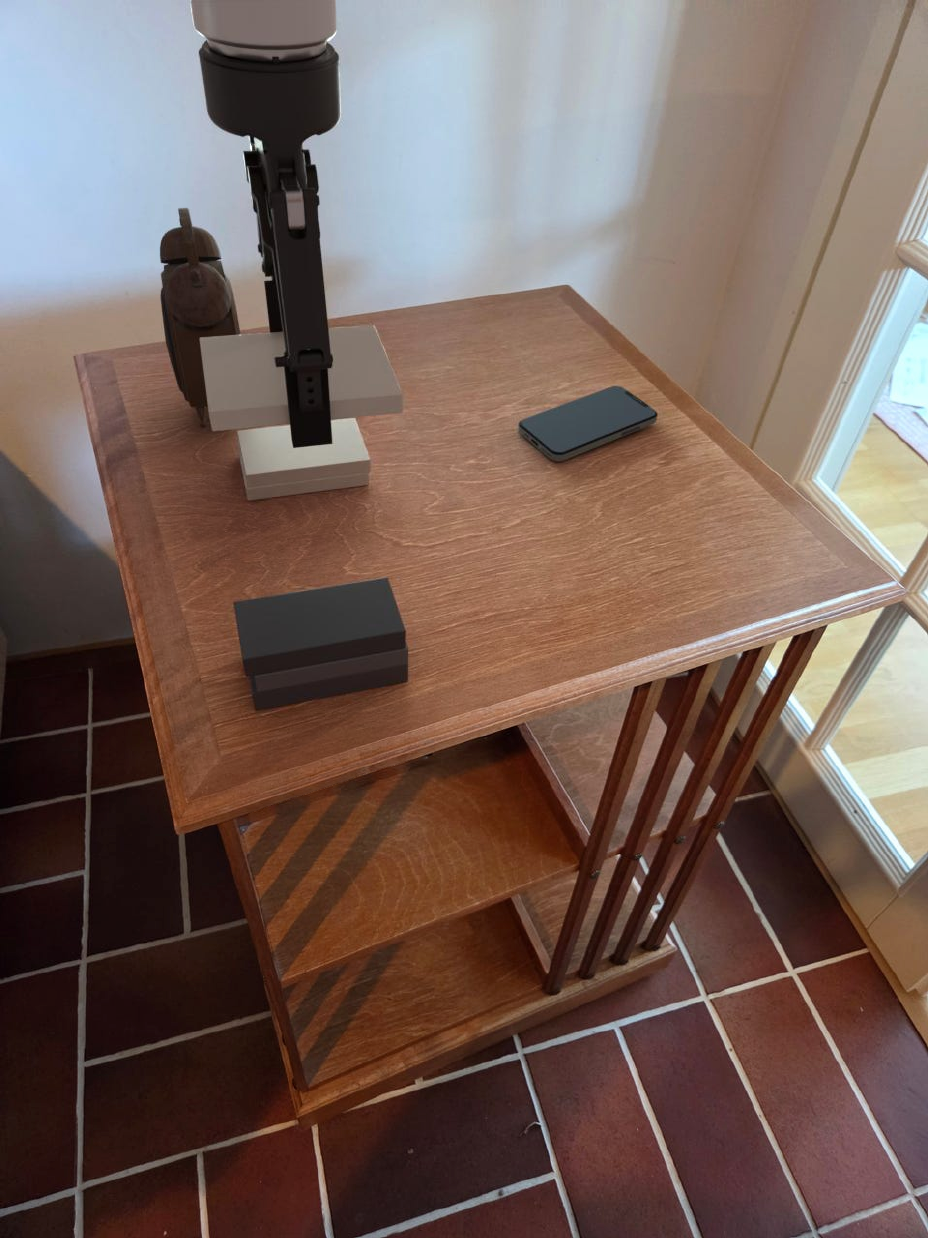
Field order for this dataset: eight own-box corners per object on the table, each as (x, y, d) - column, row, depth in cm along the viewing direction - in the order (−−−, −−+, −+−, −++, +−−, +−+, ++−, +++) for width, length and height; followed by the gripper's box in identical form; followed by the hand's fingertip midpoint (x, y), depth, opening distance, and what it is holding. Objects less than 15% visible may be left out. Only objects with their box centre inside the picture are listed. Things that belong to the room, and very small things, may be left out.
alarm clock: (174, 373, 95) (136, 188, 81) (239, 367, 97) (212, 185, 83) (185, 446, 86) (143, 251, 71) (256, 438, 88) (230, 246, 73)
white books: (247, 501, 80) (243, 475, 78) (238, 455, 85) (234, 430, 83) (371, 484, 83) (370, 460, 81) (355, 441, 88) (354, 417, 86)
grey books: (252, 711, 63) (242, 660, 59) (243, 653, 67) (233, 601, 63) (407, 681, 66) (409, 631, 62) (390, 627, 70) (390, 576, 66)
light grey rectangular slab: (212, 431, 55) (208, 412, 54) (202, 355, 62) (199, 337, 61) (403, 412, 58) (403, 394, 57) (374, 342, 65) (374, 324, 64)
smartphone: (514, 420, 91) (617, 381, 97) (513, 433, 92) (615, 394, 98) (557, 455, 87) (662, 413, 93) (555, 468, 88) (659, 426, 94)
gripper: (378, 104, 38) (382, 488, 55) (307, -5, 53) (327, 323, 69) (211, 106, 37) (267, 502, 53) (185, -7, 51) (235, 330, 68)
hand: (301, 401), depth 61 cm, fingers closed on light grey rectangular slab, 10 cm apart
